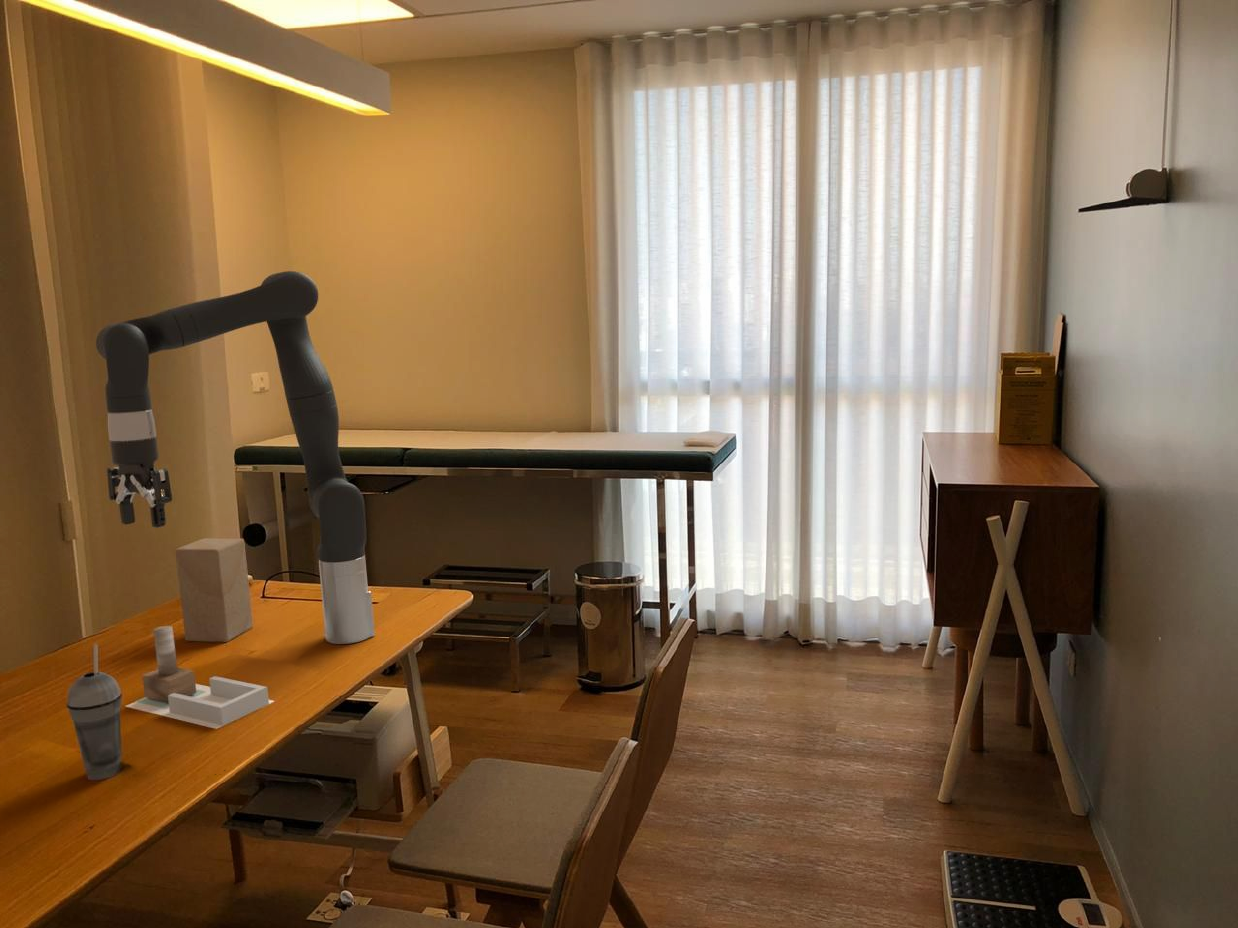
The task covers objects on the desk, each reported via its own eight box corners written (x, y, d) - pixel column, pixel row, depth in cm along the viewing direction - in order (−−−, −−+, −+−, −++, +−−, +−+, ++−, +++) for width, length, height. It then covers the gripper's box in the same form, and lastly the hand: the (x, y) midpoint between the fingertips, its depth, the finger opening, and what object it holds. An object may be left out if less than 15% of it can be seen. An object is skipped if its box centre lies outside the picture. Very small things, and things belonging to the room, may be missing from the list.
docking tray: (275, 709, 166) (273, 684, 165) (217, 737, 156) (214, 710, 155) (186, 689, 177) (183, 665, 176) (125, 714, 166) (122, 689, 166)
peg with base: (196, 692, 170) (188, 626, 168) (171, 703, 166) (163, 635, 164) (170, 686, 173) (162, 622, 171) (145, 696, 169) (136, 630, 167)
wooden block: (227, 642, 202) (216, 549, 199) (184, 641, 204) (173, 549, 201) (254, 627, 212) (244, 537, 209) (213, 626, 214) (203, 537, 211)
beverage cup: (90, 763, 148) (72, 638, 145) (139, 759, 149) (123, 634, 145) (67, 786, 141) (48, 654, 138) (119, 782, 141) (102, 651, 138)
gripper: (177, 434, 173) (187, 523, 176) (126, 432, 180) (137, 518, 182) (139, 440, 167) (150, 532, 169) (88, 438, 173) (99, 526, 176)
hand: (143, 525), depth 176 cm, fingers open, 8 cm apart
